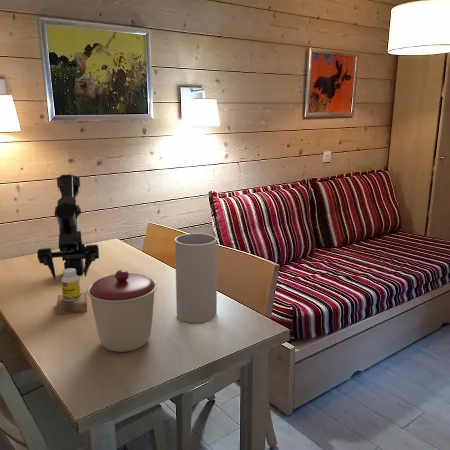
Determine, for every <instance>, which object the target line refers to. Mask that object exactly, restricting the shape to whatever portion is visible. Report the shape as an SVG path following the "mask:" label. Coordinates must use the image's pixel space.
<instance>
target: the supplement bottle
mask: <svg viewBox="0 0 450 450" xmlns="http://www.w3.org/2000/svg"><path fill="white" fill-rule="evenodd" d="M62 274H63V276H62V277H61V279H60V280H61V281H60V282H61V291H62V295H63V300H65V301H76V300H78V299H79V298H80V293H81V287H80V286H81V285H80V275H76V269H75V268H67V269H63V270H62Z"/></svg>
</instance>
